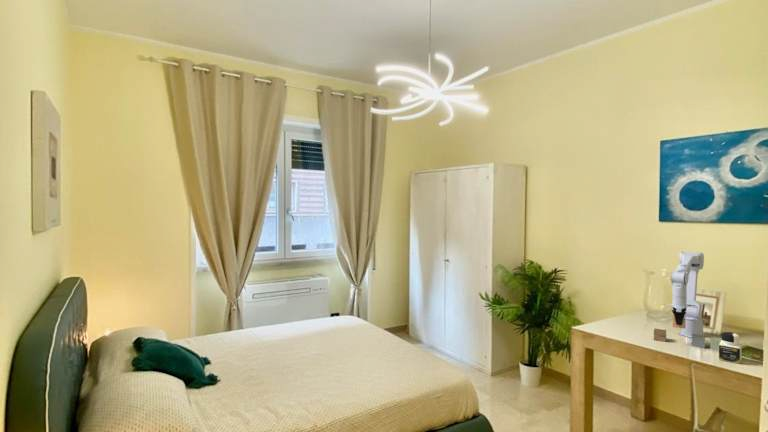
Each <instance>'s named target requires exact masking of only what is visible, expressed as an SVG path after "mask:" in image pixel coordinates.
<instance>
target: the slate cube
mask: <svg viewBox="0 0 768 432" xmlns="http://www.w3.org/2000/svg"><path fill="white" fill-rule="evenodd" d="M691 347H695V348H699V349H700V348H701V349H705V348H706V336H705V335H704V334H703V335H697V334H692V338H691Z"/></svg>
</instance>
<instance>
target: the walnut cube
mask: <svg viewBox="0 0 768 432" xmlns="http://www.w3.org/2000/svg"><path fill="white" fill-rule="evenodd" d="M653 341H654V342H655V341H656V342H661V343H662V342H664V343H666V342H667V330H666V329H662V328H653Z"/></svg>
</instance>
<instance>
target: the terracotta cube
mask: <svg viewBox="0 0 768 432" xmlns="http://www.w3.org/2000/svg"><path fill="white" fill-rule="evenodd" d="M685 327H686V316H684V318H683V322H682V325H676V321H675V316H674V314H672V328H675V329H677V328H678V329H681V328H683V329H685Z"/></svg>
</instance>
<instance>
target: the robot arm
mask: <svg viewBox="0 0 768 432" xmlns="http://www.w3.org/2000/svg"><path fill="white" fill-rule="evenodd" d="M678 259H679V262H680V264H678V265H677V267H676V269H675V270H674V271H672V272H671V273H670V283H671V284H670V286H671V289H672V292H671V293H672V296H671V297H672V300H671V303H669V307H672V309H671V312H672V315H674V316H675V321H676V325H682V322H683V318H684V316H686V327H685V329H683V328H680V332H676V334H678V335H680V336H683V337H687V338H689V339H690V338H691V339H692V334H697V335H704V323H703V321H702V316H703V306H702V304H701V303H699V301H697V300H696V299H697V288H698V275H699V271H700V270H703V268H704V263H705V256H704V253H703V252H693V251H681V252H679V256H678Z"/></svg>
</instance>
